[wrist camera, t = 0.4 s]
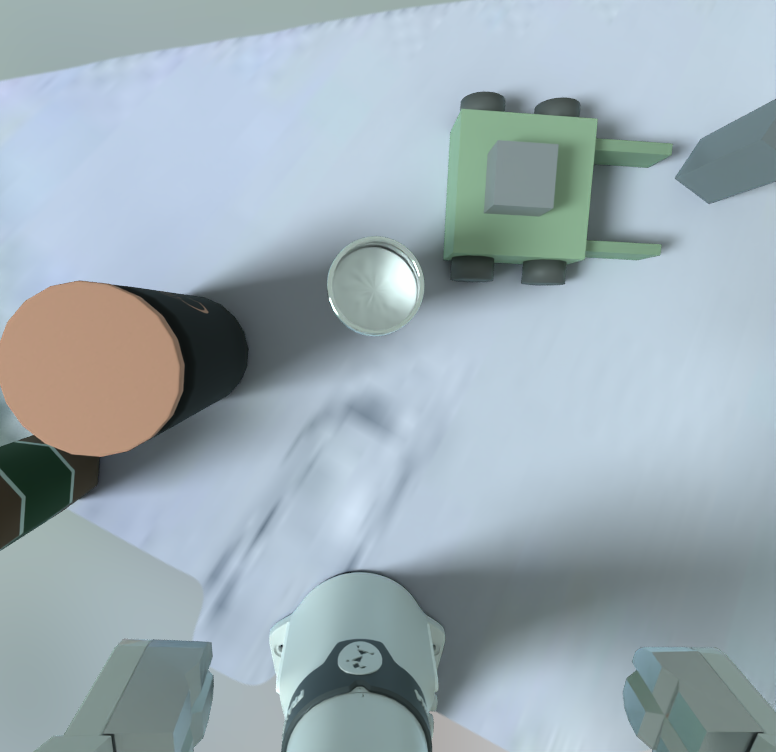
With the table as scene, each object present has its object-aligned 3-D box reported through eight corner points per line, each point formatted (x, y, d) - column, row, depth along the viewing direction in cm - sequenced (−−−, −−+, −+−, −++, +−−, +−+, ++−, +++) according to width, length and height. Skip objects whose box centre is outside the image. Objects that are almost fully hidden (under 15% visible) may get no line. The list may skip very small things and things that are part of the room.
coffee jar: (246, 293, 45) (171, 276, 27) (255, 401, 46) (189, 452, 28) (134, 298, 44) (-19, 283, 26) (147, 407, 45) (9, 463, 28)
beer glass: (366, 246, 45) (368, 210, 30) (420, 292, 46) (448, 279, 31) (321, 302, 45) (302, 293, 30) (376, 346, 46) (383, 359, 31)
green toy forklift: (634, 289, 47) (690, 283, 39) (441, 280, 46) (459, 272, 38) (652, 125, 45) (714, 83, 37) (451, 110, 44) (471, 64, 36)
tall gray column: (708, 203, 46) (803, 172, 36) (674, 178, 46) (761, 139, 36) (734, 165, 46) (837, 122, 36) (700, 138, 45) (795, 88, 36)
